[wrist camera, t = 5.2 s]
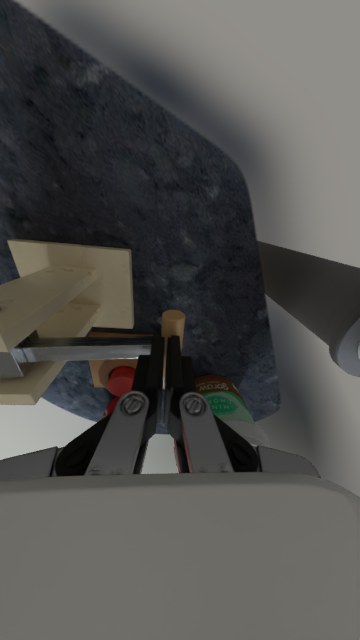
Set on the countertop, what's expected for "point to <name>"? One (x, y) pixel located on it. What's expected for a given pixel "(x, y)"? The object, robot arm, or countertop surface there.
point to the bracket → (60, 303)
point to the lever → (85, 347)
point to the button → (121, 380)
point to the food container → (229, 408)
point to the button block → (110, 362)
